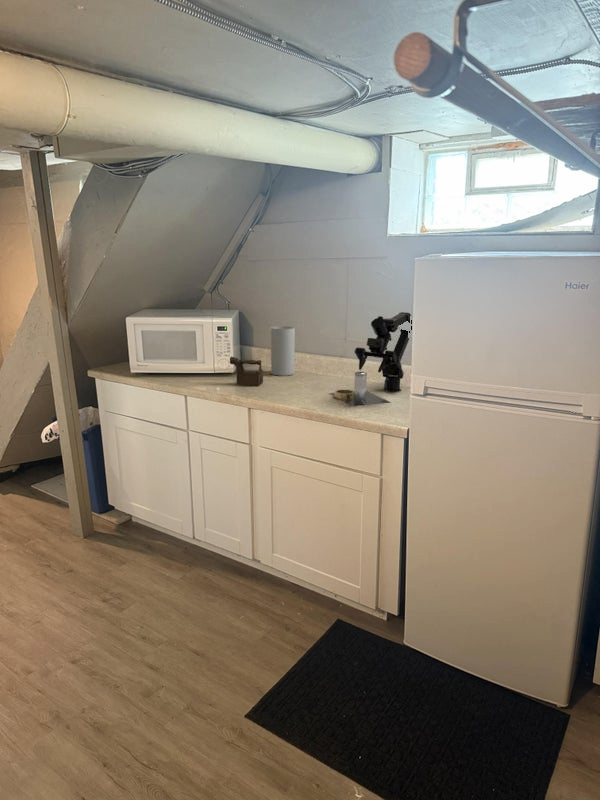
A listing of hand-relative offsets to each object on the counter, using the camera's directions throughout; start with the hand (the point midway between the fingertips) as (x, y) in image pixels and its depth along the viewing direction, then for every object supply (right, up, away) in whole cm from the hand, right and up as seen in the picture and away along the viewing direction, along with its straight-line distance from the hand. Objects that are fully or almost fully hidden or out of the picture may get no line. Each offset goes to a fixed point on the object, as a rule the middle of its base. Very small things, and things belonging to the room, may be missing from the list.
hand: (369, 370), depth 240 cm
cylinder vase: (-39, +1, +59) cm, 71 cm away
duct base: (-4, -13, +6) cm, 14 cm away
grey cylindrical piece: (-4, -14, -3) cm, 15 cm away
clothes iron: (-56, -5, +35) cm, 66 cm away
